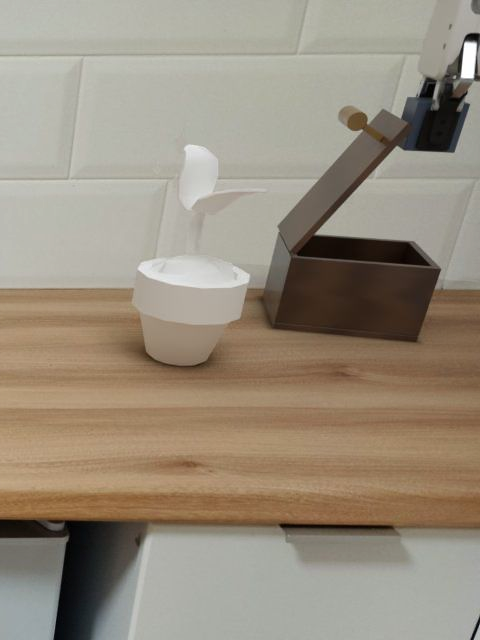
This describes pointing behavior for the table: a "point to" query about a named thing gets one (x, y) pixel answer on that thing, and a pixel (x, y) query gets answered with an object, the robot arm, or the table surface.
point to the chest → (351, 287)
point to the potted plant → (191, 273)
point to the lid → (343, 173)
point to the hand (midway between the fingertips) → (425, 144)
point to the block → (415, 116)
